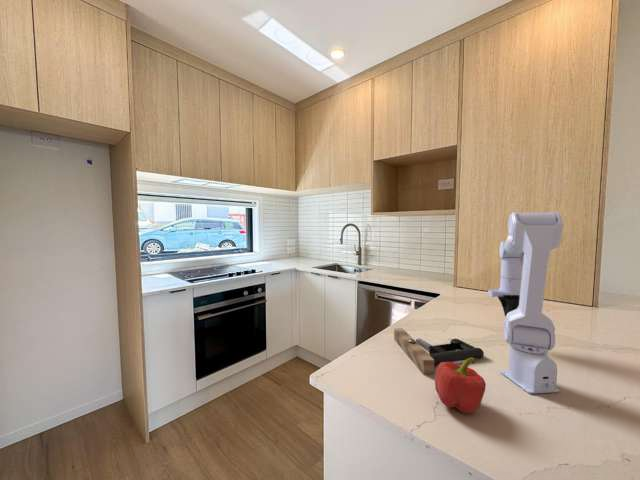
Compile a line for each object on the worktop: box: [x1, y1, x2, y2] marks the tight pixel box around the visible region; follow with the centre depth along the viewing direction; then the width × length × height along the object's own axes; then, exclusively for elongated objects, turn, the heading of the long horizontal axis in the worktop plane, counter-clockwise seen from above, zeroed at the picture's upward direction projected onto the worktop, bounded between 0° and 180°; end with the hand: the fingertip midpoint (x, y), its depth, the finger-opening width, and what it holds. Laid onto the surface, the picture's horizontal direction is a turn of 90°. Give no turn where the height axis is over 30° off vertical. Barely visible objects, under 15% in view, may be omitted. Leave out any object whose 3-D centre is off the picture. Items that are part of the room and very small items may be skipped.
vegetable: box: [434, 358, 487, 414], centre depth 60 cm, size 11×10×10 cm
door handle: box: [415, 338, 485, 366], centre depth 85 cm, size 3×20×16 cm
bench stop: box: [393, 327, 435, 375], centre depth 83 cm, size 22×3×5 cm, turn 5°
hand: (508, 317), depth 90 cm, fingers closed
